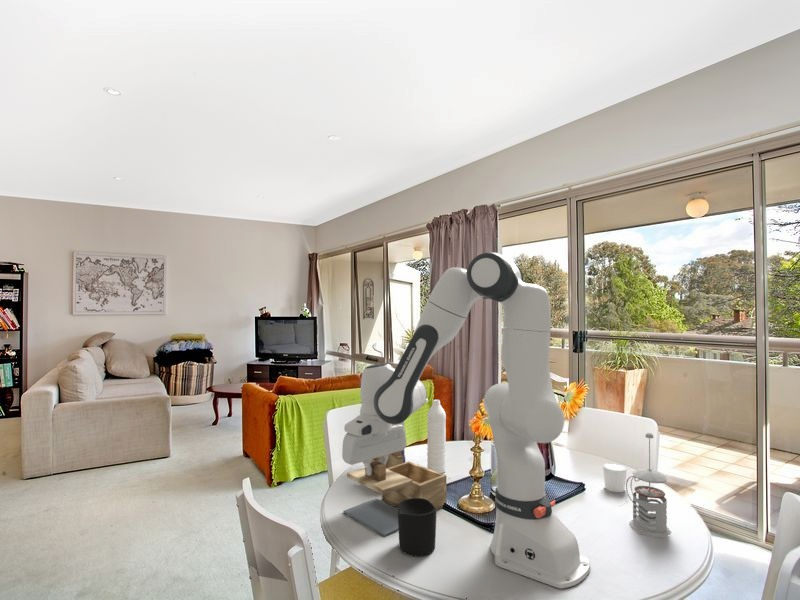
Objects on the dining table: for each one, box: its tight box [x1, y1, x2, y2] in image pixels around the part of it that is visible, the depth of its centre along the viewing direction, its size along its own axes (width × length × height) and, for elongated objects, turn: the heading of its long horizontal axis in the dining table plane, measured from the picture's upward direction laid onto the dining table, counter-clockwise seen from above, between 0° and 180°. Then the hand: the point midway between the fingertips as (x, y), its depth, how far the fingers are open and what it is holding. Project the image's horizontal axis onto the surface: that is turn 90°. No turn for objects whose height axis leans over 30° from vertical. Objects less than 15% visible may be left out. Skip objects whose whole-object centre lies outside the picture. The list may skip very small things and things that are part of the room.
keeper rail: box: [373, 454, 403, 468], centre depth 149 cm, size 12×4×13 cm, turn 43°
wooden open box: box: [381, 461, 447, 511], centre depth 135 cm, size 16×11×9 cm
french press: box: [625, 432, 672, 539], centre depth 121 cm, size 10×12×25 cm
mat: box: [342, 498, 399, 538], centre depth 126 cm, size 18×12×1 cm, turn 43°
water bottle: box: [425, 398, 447, 474], centre depth 161 cm, size 9×6×25 cm
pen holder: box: [397, 498, 438, 558], centre depth 111 cm, size 9×9×10 cm
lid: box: [346, 459, 413, 495], centre depth 126 cm, size 16×11×5 cm
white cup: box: [602, 462, 627, 493], centre depth 146 cm, size 7×7×7 cm
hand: (375, 472), depth 125 cm, fingers closed on lid, 2 cm apart
